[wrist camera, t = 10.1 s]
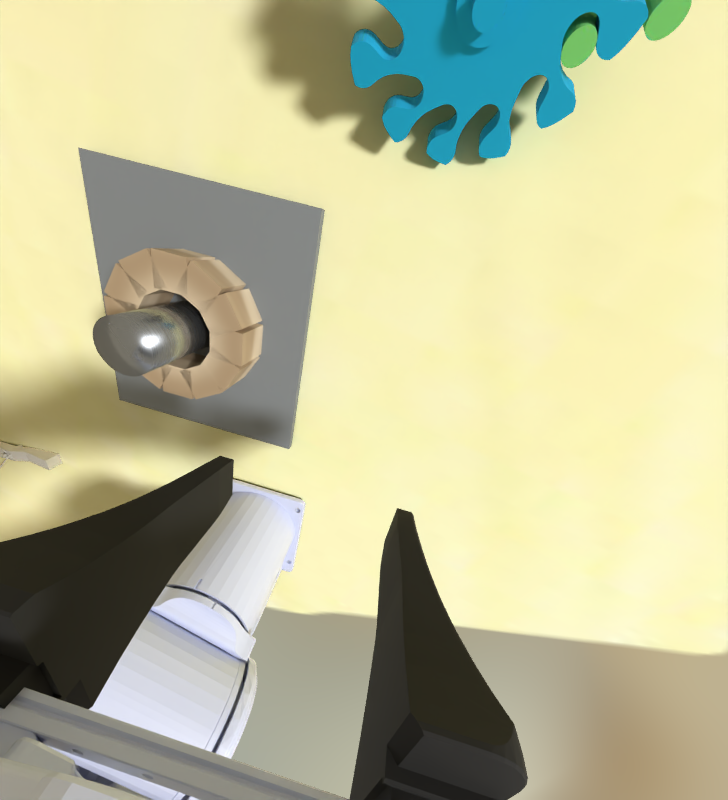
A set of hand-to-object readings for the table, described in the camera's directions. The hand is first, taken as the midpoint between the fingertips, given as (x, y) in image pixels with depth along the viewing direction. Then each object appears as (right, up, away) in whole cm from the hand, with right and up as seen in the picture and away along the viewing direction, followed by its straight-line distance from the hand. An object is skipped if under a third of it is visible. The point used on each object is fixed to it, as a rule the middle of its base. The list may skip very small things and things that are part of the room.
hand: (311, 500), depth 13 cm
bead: (-8, +9, +7) cm, 14 cm away
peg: (-8, +9, +7) cm, 14 cm away
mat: (-8, +10, +8) cm, 15 cm away
